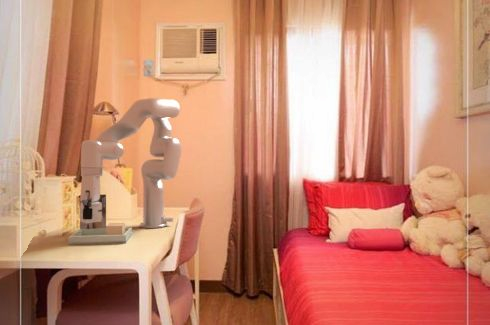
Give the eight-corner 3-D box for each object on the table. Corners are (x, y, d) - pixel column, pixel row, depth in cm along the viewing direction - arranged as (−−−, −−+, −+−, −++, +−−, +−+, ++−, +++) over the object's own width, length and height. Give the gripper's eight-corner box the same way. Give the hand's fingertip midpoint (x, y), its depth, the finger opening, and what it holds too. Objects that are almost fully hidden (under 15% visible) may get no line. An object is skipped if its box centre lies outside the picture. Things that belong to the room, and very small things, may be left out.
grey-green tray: (131, 234, 135) (131, 227, 135) (125, 243, 121) (125, 235, 121) (80, 236, 131) (80, 229, 131) (68, 245, 117) (68, 237, 117)
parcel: (125, 235, 131) (125, 222, 131) (122, 238, 125) (122, 225, 125) (109, 235, 129) (109, 223, 129) (105, 239, 124) (105, 226, 124)
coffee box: (93, 229, 144) (93, 193, 144) (106, 230, 143) (106, 194, 142) (79, 234, 135) (79, 196, 135) (92, 235, 134) (93, 196, 133)
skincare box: (85, 223, 121) (85, 203, 121) (79, 221, 125) (80, 202, 125) (101, 221, 125) (102, 202, 125) (95, 219, 130) (96, 201, 130)
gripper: (88, 171, 133) (87, 214, 133) (73, 172, 116) (72, 221, 116) (107, 171, 135) (106, 213, 134) (96, 173, 117) (95, 221, 117)
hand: (91, 217), depth 125 cm, fingers closed on skincare box, 8 cm apart
